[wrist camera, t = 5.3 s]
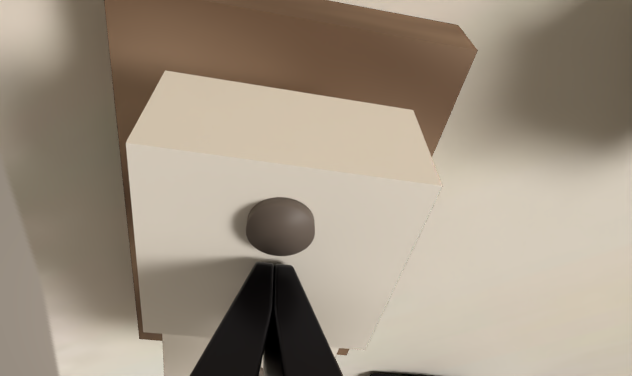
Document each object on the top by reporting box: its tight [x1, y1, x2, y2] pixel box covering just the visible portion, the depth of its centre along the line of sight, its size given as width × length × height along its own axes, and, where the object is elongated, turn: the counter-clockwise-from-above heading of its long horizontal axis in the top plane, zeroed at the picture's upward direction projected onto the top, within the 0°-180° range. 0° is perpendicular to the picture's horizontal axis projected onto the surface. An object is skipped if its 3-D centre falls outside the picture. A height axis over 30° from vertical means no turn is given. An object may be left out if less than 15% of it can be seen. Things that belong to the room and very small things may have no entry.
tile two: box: [126, 70, 443, 350], centre depth 11 cm, size 6×6×3 cm
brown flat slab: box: [104, 0, 478, 355], centre depth 18 cm, size 16×10×2 cm, turn 169°
